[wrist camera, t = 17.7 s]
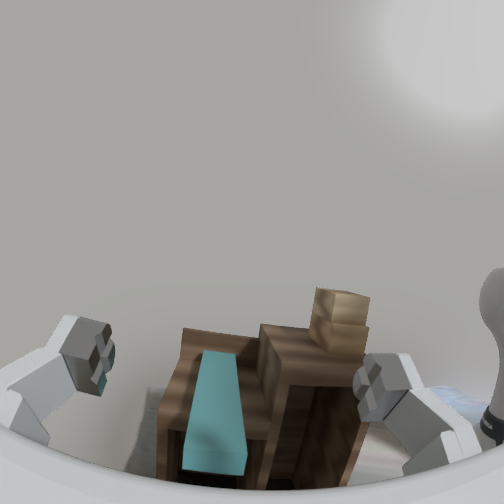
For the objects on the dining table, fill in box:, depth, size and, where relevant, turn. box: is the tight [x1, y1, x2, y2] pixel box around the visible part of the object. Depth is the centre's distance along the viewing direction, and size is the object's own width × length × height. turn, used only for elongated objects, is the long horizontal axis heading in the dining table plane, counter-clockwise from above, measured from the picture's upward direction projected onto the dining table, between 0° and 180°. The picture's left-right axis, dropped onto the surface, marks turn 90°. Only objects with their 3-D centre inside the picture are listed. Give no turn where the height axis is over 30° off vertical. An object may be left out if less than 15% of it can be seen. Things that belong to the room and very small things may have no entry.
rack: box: [156, 287, 370, 490], centre depth 33 cm, size 16×20×32 cm
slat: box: [182, 350, 248, 476], centre depth 27 cm, size 22×4×2 cm, turn 5°
